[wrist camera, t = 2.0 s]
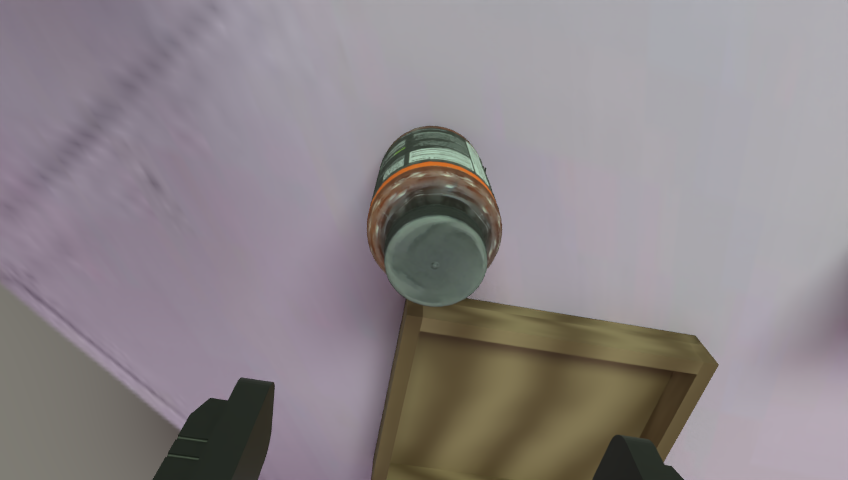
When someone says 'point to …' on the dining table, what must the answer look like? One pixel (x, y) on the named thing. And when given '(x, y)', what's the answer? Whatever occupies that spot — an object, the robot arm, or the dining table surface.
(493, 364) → the serving tray
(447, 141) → the supplement bottle
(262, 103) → the dining table surface
